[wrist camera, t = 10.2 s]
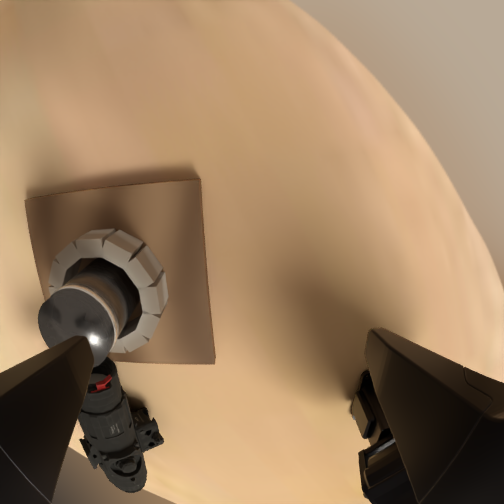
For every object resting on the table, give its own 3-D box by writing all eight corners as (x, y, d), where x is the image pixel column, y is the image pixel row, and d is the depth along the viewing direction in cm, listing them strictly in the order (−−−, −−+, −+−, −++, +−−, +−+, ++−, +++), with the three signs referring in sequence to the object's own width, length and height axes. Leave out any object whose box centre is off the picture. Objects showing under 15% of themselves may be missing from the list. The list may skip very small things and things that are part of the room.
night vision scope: (145, 442, 31) (75, 466, 25) (120, 321, 26) (20, 345, 20) (179, 486, 26) (101, 517, 19) (157, 368, 21) (31, 405, 14)
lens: (138, 253, 20) (97, 296, 14) (147, 314, 22) (117, 372, 15) (80, 255, 20) (28, 294, 14) (92, 312, 22) (51, 364, 15)
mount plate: (200, 178, 20) (192, 184, 17) (215, 356, 24) (212, 384, 21) (31, 197, 20) (5, 206, 16) (68, 350, 24) (52, 372, 21)
